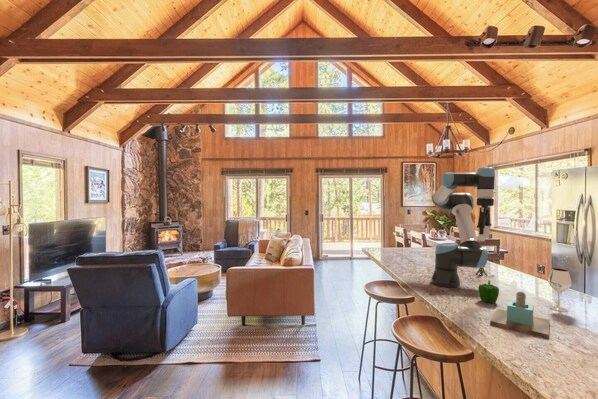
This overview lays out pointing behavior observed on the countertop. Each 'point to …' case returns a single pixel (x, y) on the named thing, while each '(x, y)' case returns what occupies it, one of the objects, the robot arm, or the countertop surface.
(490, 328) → the countertop surface
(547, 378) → the countertop surface
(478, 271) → the eiffel tower figurine
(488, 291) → the bell pepper
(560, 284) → the wineglass
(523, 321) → the bead
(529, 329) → the post board
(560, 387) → the countertop surface
